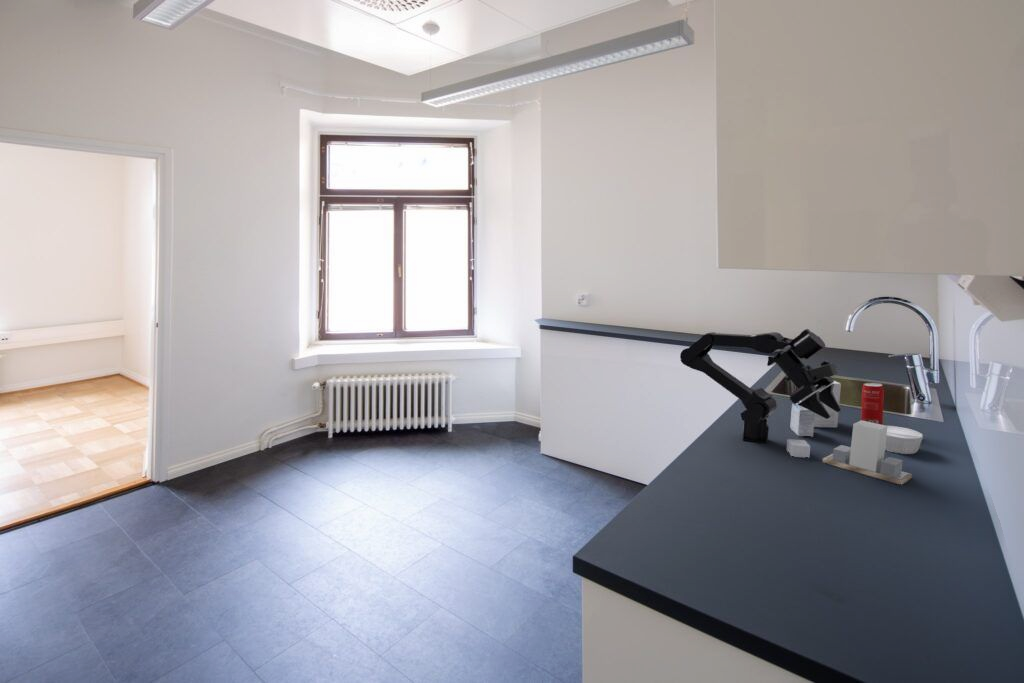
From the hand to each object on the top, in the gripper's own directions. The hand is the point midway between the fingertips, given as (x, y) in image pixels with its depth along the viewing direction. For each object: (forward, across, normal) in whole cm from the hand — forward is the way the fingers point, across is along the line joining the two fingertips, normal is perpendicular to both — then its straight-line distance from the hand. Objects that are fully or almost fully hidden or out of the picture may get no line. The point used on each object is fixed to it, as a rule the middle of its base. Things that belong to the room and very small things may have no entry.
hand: (834, 414), depth 142 cm
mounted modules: (+14, -3, +1) cm, 15 cm away
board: (+15, -3, +2) cm, 16 cm away
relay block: (+4, -4, +14) cm, 15 cm away
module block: (+14, -3, +1) cm, 15 cm away
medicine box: (0, +16, +18) cm, 24 cm away
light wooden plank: (+15, -3, +2) cm, 16 cm away
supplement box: (0, +31, +18) cm, 36 cm away
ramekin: (+17, +22, +1) cm, 27 cm away
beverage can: (+10, +37, +8) cm, 39 cm away
